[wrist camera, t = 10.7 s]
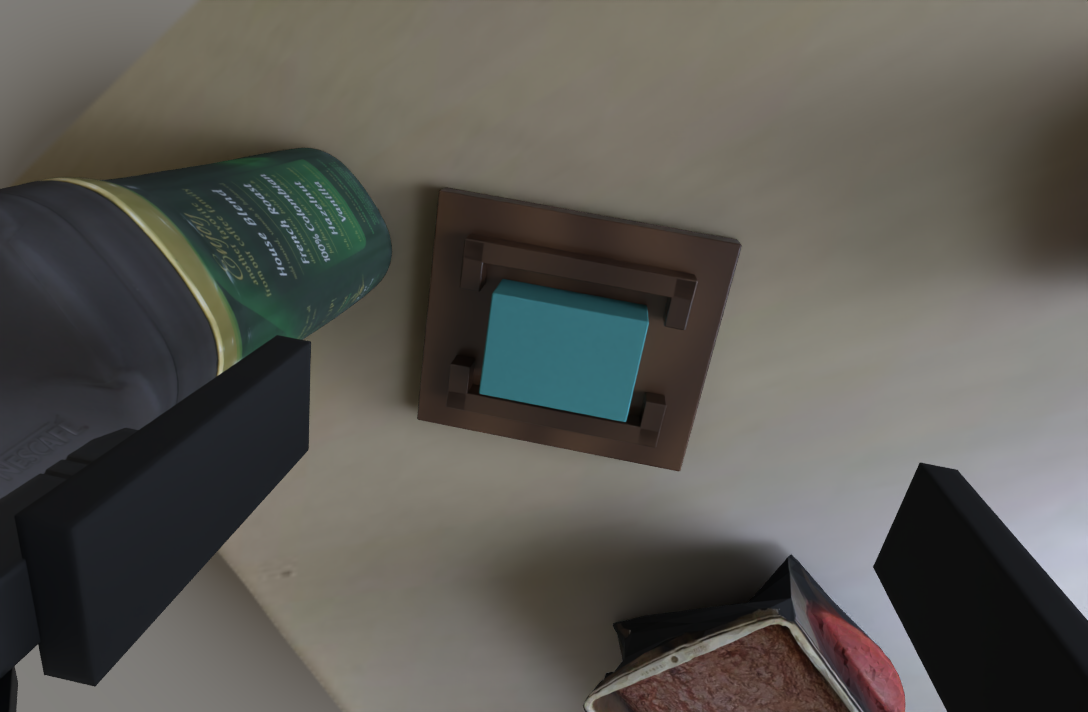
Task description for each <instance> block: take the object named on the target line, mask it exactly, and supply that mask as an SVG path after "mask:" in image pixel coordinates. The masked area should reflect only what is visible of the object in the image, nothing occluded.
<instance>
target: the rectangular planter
mask: <svg viewBox="0 0 1088 712" xmlns="http://www.w3.org/2000/svg"><path fill="white" fill-rule="evenodd" d="M613 627H614V629H615V631H616V632H617V635H618V640H619V645H620V650H621V655H622V660H623V661H622V662H621V664H620V665H619V666H618V668H617V669H616V670H615V672H609V673H606V675H605V678H604V679H603V680H602V681H601V682H600V683H599V684H598V685H597V686H596V688H595V689H594V690H593V691H592V692H591V694H590V695H589V696H588V697H587V699H586V700H585V702H584V705H583V707H584V710H585V712H905V695H904V691H903V687H902V684H901V681H900V678H899V675H898V673H897V672H896V670H895V668H894V666H893V664H892V662H891V661H890V659H889V658H888V657H887V656H886V655H885V654H884V653H883V651H882V649H881V648H880V647H879V646H878V645H877V644H875V643H874V642H873V641H872V640H871V639H870V638H869V637H868V636H867V635H866V634H865V633H864V632H863V631H862V630H861V629H860V628H859V627H858V626H857V625H856V624H855V623H854V622H853V621H852V620H851V619H850V618H849V617H848V616H847V615H846V614H845V613H844V612H843V611H842V610H841V609H840V608H839V607H838V606H837V605H836V604H835V603H834V602H833V601H832V600H831V599H830V597H829V596H828V595H827V594H826V593H825V592H824V591H823V589H822V588H821V587H820V586H819V585H818V584H817V582H816V581H815V580H814V579H813V578H812V577H811V575H810V574H809V573H808V572H807V571H806V570H805V568H804V567H803V566H802V565H801V564H800V563H799V562H798V560H796V559H795V558H794V557H793V556H792V555H790V556H789V557H788V558H787V559H786V560H785V561H784V562H783V563H782V565H781V566H780V567H779V568H778V569H777V570H776V571H775V573H774V574H773V575H772V576H771V577H770V578H769V579H768V581H767V582H766V583H765V584H764V585H763V586H762V588H761V589H760V590H759V591H758V592H757V593H756V594H755V596H754V597H753V598H752V599H751V600H750V601H749V602H748V603H743V604H735V605H727V606H719V607H712V608H704V609H696V610H689V611H681V612H673V613H665V614H658V615H650V616H644V617H639V618H635V619H631V620H626V621H622V622H618V623H613Z"/></svg>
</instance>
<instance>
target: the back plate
mask: <svg viewBox="0 0 1088 712" xmlns="http://www.w3.org/2000/svg"><path fill="white" fill-rule="evenodd" d="M741 247H742V245H741V244H740V242H739V241H738V240H737V239H731V238H726V237H720V236H715V235H709V234H703V233H698V232H692V231H687V230H681V229H675V228H670V227H664V226H659V225H653V224H647V223H642V222H636V221H631V220H625V219H620V218H614V217H608V216H603V215H597V214H592V213H586V212H580V211H575V210H569V209H564V208H558V207H552V206H547V205H541V204H536V203H530V202H525V201H519V200H513V199H508V198H502V197H497V196H491V195H485V194H480V193H474V192H469V191H463V190H457V189H452V188H444V189H442V190H440V191H439V195H438V205H437V216H436V226H435V237H434V247H433V258H432V268H431V279H430V289H429V300H428V310H427V321H426V331H425V342H424V352H423V363H422V373H421V384H420V394H419V405H418V415H417V419H418V420H423V421H428V422H433V423H438V424H443V425H448V426H453V427H458V428H463V429H468V430H473V431H478V432H483V433H488V434H493V435H498V436H503V437H508V438H513V439H518V440H523V441H528V442H533V443H539V444H544V445H549V446H554V447H559V448H564V449H569V450H574V451H579V452H584V453H589V454H594V455H599V456H604V457H609V458H614V459H619V460H624V461H629V462H634V463H639V464H644V465H649V466H655V467H660V468H665V469H670V470H675V471H680V470H681V466H682V463H683V459H684V455H685V452H686V448H687V444H688V441H689V437H690V433H691V430H692V426H693V422H694V419H695V415H696V411H697V408H698V404H699V400H700V397H701V393H702V389H703V386H704V382H705V379H706V375H707V371H708V368H709V364H710V360H711V357H712V353H713V349H714V346H715V342H716V338H717V335H718V331H719V327H720V324H721V320H722V316H723V313H724V309H725V305H726V302H727V298H728V294H729V291H730V287H731V283H732V280H733V276H734V272H735V269H736V265H737V261H738V258H739V254H740V250H741ZM502 279H507V280H513V281H518V282H523V283H529V284H534V285H540V286H545V287H550V288H556V289H561V290H567V291H572V292H577V293H583V294H588V295H593V296H599V297H604V298H610V299H615V300H620V301H626V302H631V303H637V304H642V305H646V306H647V309H648V319H649V325H648V329H647V334H646V338H645V343H644V347H643V351H642V356H641V360H640V364H639V369H638V373H637V377H636V382H635V386H634V390H633V395H632V399H631V403H630V408H629V412H628V416H627V421H626V422H621V421H616V420H611V419H606V418H601V417H596V416H591V415H586V414H581V413H575V412H570V411H565V410H560V409H555V408H550V407H545V406H540V405H534V404H529V403H524V402H519V401H514V400H509V399H504V398H499V397H493V396H488V395H483V394H480V393H479V388H480V380H481V373H482V365H483V358H484V350H485V342H486V335H487V327H488V320H489V312H490V305H491V297H492V293H493V292H494V290H495V289H496V287H497V286H498V285H499V283H500V282H501V280H502Z"/></svg>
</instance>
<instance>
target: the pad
mask: <svg viewBox="0 0 1088 712" xmlns="http://www.w3.org/2000/svg"><path fill="white" fill-rule="evenodd" d="M648 325H649V319H648V309H647V306H646V305H642V304H637V303H631V302H626V301H620V300H615V299H610V298H604V297H599V296H593V295H588V294H583V293H577V292H572V291H567V290H561V289H556V288H550V287H545V286H540V285H534V284H529V283H523V282H518V281H513V280H507V279H502V280H501V282H500V283H499V285H498V286H497V287H496V289H495V290H494V292H493V293H492V297H491V305H490V312H489V320H488V327H487V335H486V342H485V350H484V358H483V365H482V373H481V380H480V388H479V393H480V394H483V395H488V396H493V397H499V398H504V399H509V400H514V401H519V402H524V403H529V404H534V405H540V406H545V407H550V408H555V409H560V410H565V411H570V412H575V413H581V414H586V415H591V416H596V417H601V418H606V419H611V420H616V421H621V422H626V421H627V416H628V412H629V408H630V403H631V399H632V395H633V390H634V386H635V382H636V377H637V373H638V369H639V364H640V360H641V356H642V351H643V347H644V343H645V338H646V334H647V329H648Z"/></svg>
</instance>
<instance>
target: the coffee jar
mask: <svg viewBox="0 0 1088 712" xmlns="http://www.w3.org/2000/svg"><path fill="white" fill-rule="evenodd" d="M391 257H392V245H391V240H390V235H389V232H388V229H387V226H386V224H385V222H384V220H383V218H382V216H381V214H380V212H379V210H378V209H377V207H376V206H375V204H374V203H373V201H372V199H371V198H370V196H369V195H368V193H367V192H366V190H365V189H364V187H363V186H362V185H361V184H360V182H359V181H358V180H357V178H356V177H355V176H354V175H353V174H352V173H351V171H350V170H349V169H348V168H347V167H346V166H345V165H344V164H343V163H342V162H340V161H339V160H337V159H336V158H335V157H333V156H332V155H330V154H328V153H326V152H323V151H321V150H317V149H312V148H296V149H289V150H282V151H276V152H270V153H264V154H258V155H253V156H248V157H243V158H238V159H233V160H228V161H222V162H217V163H212V164H206V165H199V166H193V167H187V168H181V169H175V170H168V171H161V172H155V173H150V174H144V175H139V176H131V177H125V178H118V179H109V180H95V179H89V178H50V179H43V180H40V181H35V182H30V183H26V184H21V185H17V186H12V187H8V188H3V189H0V499H1V498H3V497H4V496H6V495H7V494H9V493H10V492H12V491H13V490H15V489H17V488H18V487H20V486H21V485H23V484H24V483H26V482H27V481H29V480H31V479H32V478H34V477H35V476H37V475H38V474H40V473H41V474H44V473H45V471H46V469H48V468H49V467H51V466H52V465H54V464H55V463H57V462H58V461H60V460H62V459H63V460H66V458H67V456H68V455H69V454H71V453H72V452H74V451H76V450H77V449H79V448H80V447H82V446H83V445H85V444H86V443H88V442H89V441H91V440H93V439H95V438H98V437H101V436H104V435H106V434H109V433H112V432H115V431H118V430H120V429H123V428H130V429H135V430H139V429H141V428H142V427H144V426H145V425H147V424H148V423H150V422H151V421H153V420H154V419H155V418H157V417H158V416H160V415H161V414H163V413H164V412H166V411H167V410H169V409H170V408H172V407H173V406H174V405H176V404H177V403H179V402H180V401H182V400H183V399H185V398H186V397H188V396H189V395H190V394H192V393H193V392H195V391H196V390H198V389H199V388H201V387H202V386H204V385H205V384H207V383H208V382H209V381H211V380H212V379H214V378H215V377H217V376H218V375H220V374H221V373H223V372H224V371H225V370H227V369H228V368H230V367H231V366H233V365H234V364H236V363H237V362H239V361H240V360H241V359H243V358H244V357H246V356H247V355H249V354H250V353H252V352H253V351H255V350H256V349H258V348H259V347H260V346H262V345H263V344H265V343H266V342H268V341H269V340H271V339H272V338H274V337H275V336H276V335H280V336H285V337H290V338H295V339H300V340H303V339H304V338H306V337H307V336H309V335H310V334H312V333H313V332H315V331H316V330H318V329H319V328H321V327H322V326H324V325H325V324H327V323H328V322H330V321H331V320H333V319H334V318H336V317H337V316H338V315H340V314H341V313H343V312H344V311H345V310H347V309H348V308H349V307H351V306H352V305H353V304H355V303H356V302H357V301H359V300H360V299H361V298H363V297H364V296H365V295H366V294H367V293H369V292H370V291H371V290H372V289H373V288H374V287H375V286H377V285H378V283H379V282H380V281H381V280H382V279H383V277H384V276H385V274H386V273H387V270H388V268H389V265H390V262H391Z"/></svg>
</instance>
